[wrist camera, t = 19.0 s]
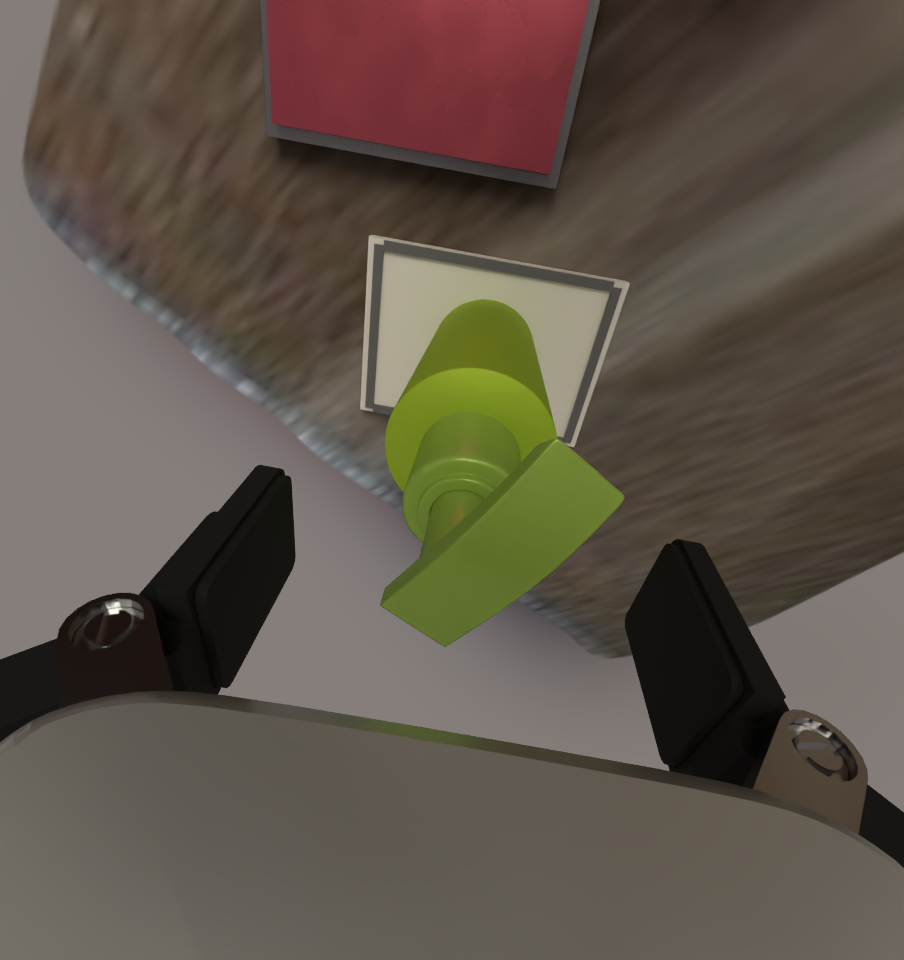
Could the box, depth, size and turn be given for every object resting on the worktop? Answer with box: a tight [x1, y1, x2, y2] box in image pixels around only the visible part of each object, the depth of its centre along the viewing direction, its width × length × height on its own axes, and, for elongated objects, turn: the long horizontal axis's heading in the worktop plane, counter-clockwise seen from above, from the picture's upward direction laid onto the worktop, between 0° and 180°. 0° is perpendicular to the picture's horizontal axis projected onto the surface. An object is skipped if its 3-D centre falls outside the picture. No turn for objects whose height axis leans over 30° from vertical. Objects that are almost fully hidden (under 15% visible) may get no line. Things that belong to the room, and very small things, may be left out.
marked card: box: [360, 235, 630, 447], centre depth 27 cm, size 10×14×1 cm
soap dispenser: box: [380, 299, 624, 647], centre depth 18 cm, size 6×7×20 cm
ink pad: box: [260, 0, 600, 189], centre depth 20 cm, size 9×14×2 cm, turn 81°
